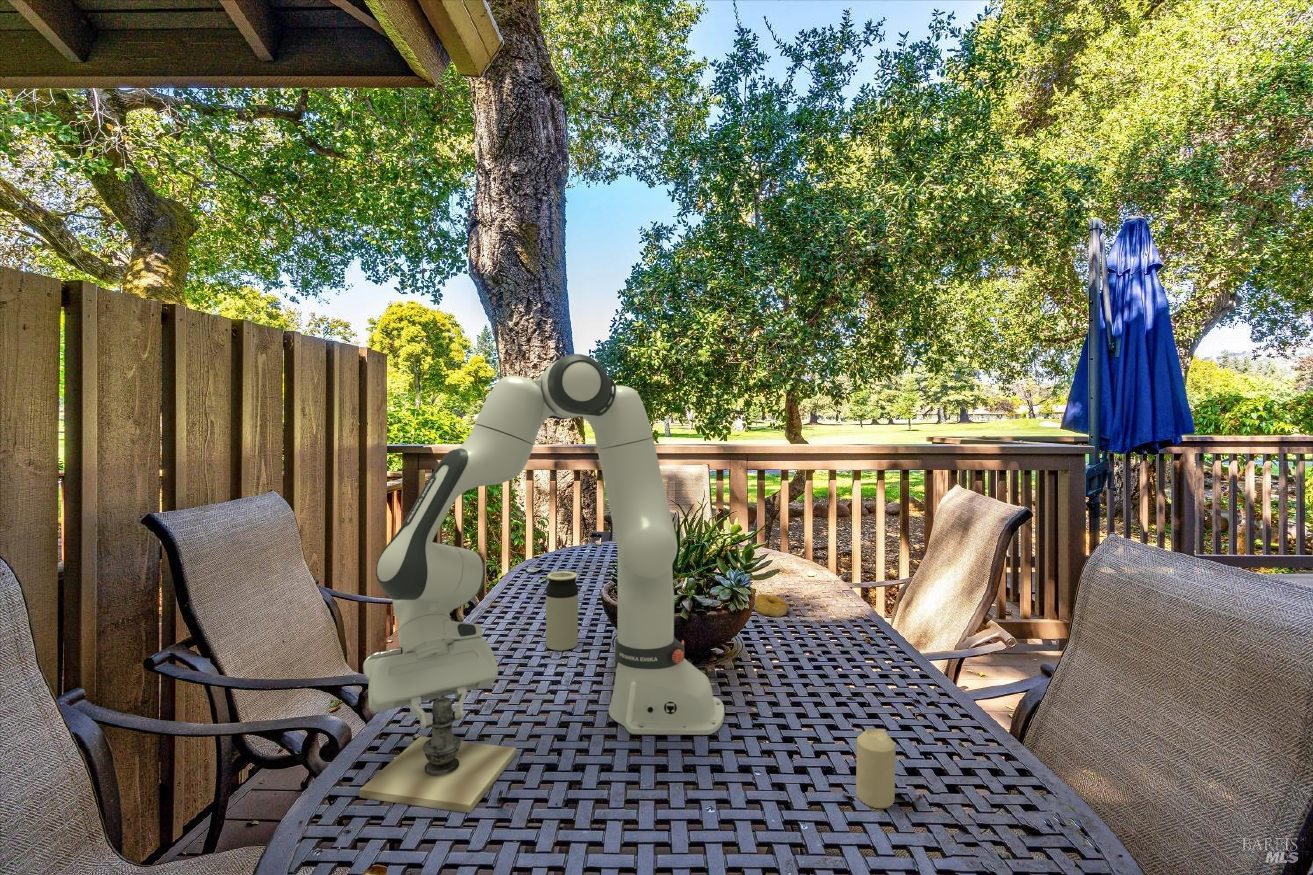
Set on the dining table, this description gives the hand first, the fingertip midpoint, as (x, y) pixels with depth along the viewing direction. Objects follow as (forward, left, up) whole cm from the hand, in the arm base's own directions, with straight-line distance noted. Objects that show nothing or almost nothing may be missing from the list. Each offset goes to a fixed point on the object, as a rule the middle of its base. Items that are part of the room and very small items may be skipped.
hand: (443, 722), depth 99 cm
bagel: (-50, -98, -9) cm, 110 cm away
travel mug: (+1, -58, -9) cm, 59 cm away
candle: (-67, -8, -9) cm, 68 cm away
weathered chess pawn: (+1, -1, -8) cm, 8 cm away
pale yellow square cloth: (0, 0, -9) cm, 9 cm away
